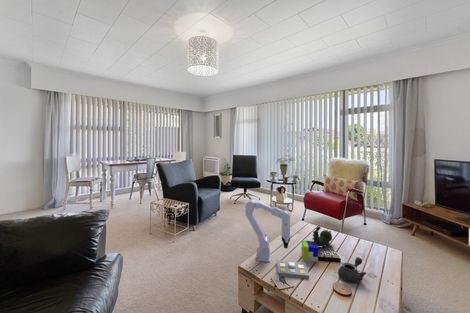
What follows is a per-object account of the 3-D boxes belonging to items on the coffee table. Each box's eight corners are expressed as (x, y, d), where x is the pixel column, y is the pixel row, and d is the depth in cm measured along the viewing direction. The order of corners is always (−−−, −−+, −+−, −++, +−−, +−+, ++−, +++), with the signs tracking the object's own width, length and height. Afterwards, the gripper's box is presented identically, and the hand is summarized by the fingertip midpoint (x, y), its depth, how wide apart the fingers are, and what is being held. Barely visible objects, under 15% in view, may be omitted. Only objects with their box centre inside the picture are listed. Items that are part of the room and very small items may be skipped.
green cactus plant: (320, 254, 161) (336, 242, 176) (320, 231, 159) (336, 221, 174) (309, 249, 168) (325, 238, 184) (309, 227, 166) (325, 217, 181)
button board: (277, 275, 131) (277, 272, 131) (276, 262, 145) (276, 259, 145) (309, 278, 128) (309, 275, 128) (304, 265, 142) (304, 262, 142)
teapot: (362, 290, 119) (363, 273, 118) (334, 277, 130) (335, 262, 130) (371, 276, 132) (372, 261, 131) (345, 265, 143) (346, 251, 142)
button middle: (289, 267, 137) (289, 265, 137) (288, 264, 140) (288, 262, 140) (294, 268, 136) (294, 265, 136) (294, 265, 140) (294, 262, 140)
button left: (279, 268, 138) (280, 266, 137) (279, 265, 141) (279, 262, 141) (285, 269, 137) (285, 266, 137) (284, 265, 141) (285, 263, 141)
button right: (298, 270, 136) (298, 267, 136) (297, 267, 139) (297, 264, 139) (304, 270, 135) (304, 268, 135) (303, 267, 139) (303, 265, 139)
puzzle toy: (317, 261, 148) (318, 248, 147) (303, 259, 150) (303, 246, 149) (315, 254, 157) (315, 241, 157) (301, 252, 159) (302, 240, 159)
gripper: (293, 233, 137) (292, 253, 138) (290, 225, 151) (290, 243, 152) (282, 233, 138) (282, 252, 139) (280, 224, 152) (280, 242, 153)
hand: (285, 247), depth 145 cm, fingers closed
